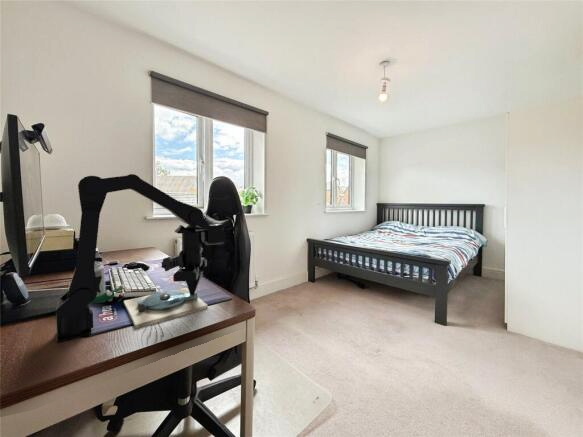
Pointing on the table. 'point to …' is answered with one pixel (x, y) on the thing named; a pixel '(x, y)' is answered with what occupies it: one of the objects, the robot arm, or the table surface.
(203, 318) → the table surface
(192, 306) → the post base
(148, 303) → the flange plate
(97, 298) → the green irregular piece
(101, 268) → the can
